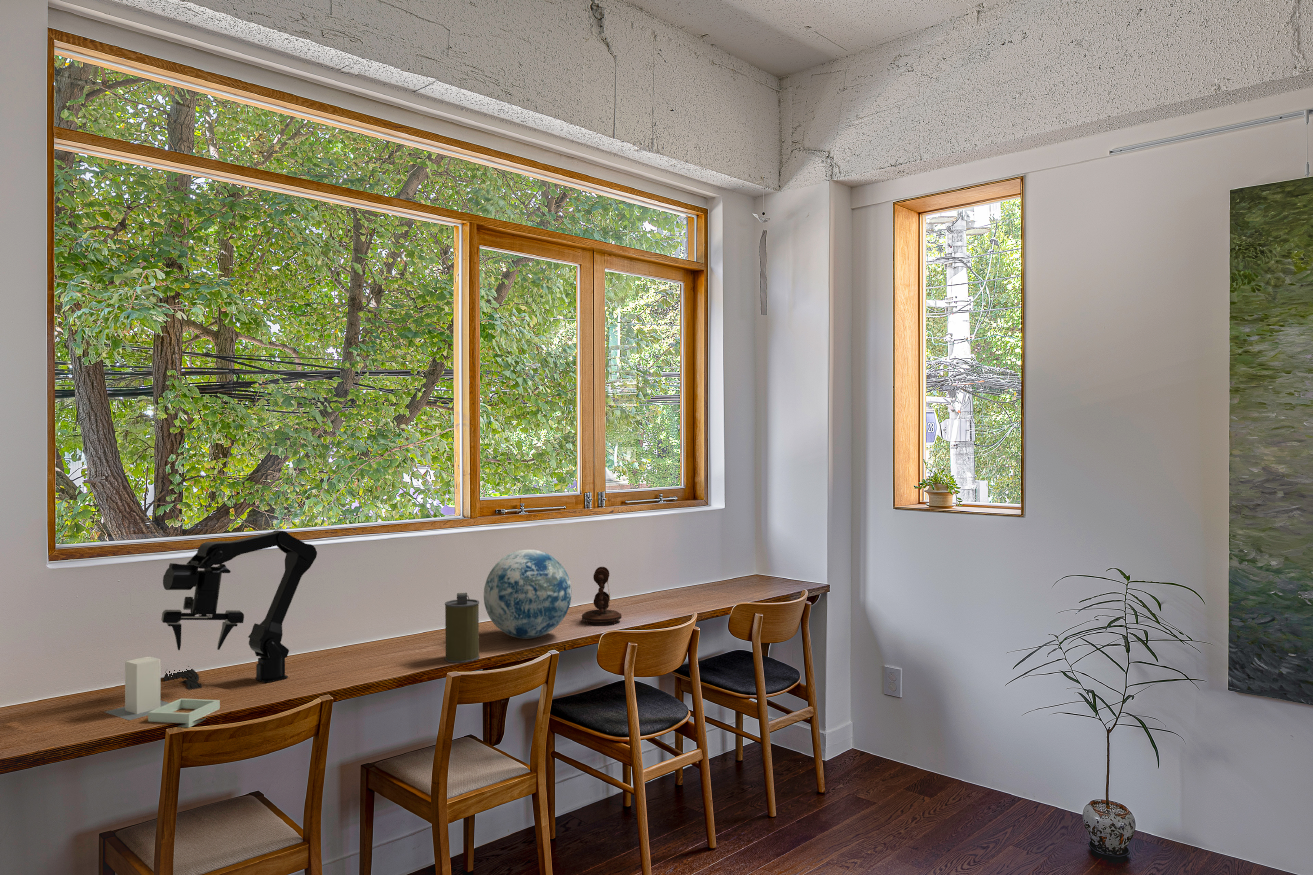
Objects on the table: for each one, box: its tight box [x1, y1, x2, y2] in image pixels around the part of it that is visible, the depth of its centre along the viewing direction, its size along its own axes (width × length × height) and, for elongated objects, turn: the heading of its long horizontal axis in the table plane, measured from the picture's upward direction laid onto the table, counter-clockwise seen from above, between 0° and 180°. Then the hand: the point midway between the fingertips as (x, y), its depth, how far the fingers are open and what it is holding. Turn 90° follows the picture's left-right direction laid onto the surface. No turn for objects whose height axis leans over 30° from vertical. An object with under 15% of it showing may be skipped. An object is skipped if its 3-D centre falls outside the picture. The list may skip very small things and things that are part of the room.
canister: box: [444, 592, 480, 664], centre depth 251 cm, size 11×10×20 cm
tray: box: [147, 698, 221, 729], centre depth 196 cm, size 11×11×3 cm
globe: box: [483, 549, 573, 640], centre depth 278 cm, size 30×30×30 cm
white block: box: [124, 656, 161, 714], centre depth 201 cm, size 6×6×12 cm
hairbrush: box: [163, 665, 203, 691], centre depth 225 cm, size 8×4×25 cm
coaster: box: [104, 699, 170, 721], centre depth 201 cm, size 12×12×1 cm
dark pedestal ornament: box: [581, 566, 622, 625], centre depth 303 cm, size 15×15×20 cm
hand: (198, 649), depth 214 cm, fingers open, 9 cm apart
